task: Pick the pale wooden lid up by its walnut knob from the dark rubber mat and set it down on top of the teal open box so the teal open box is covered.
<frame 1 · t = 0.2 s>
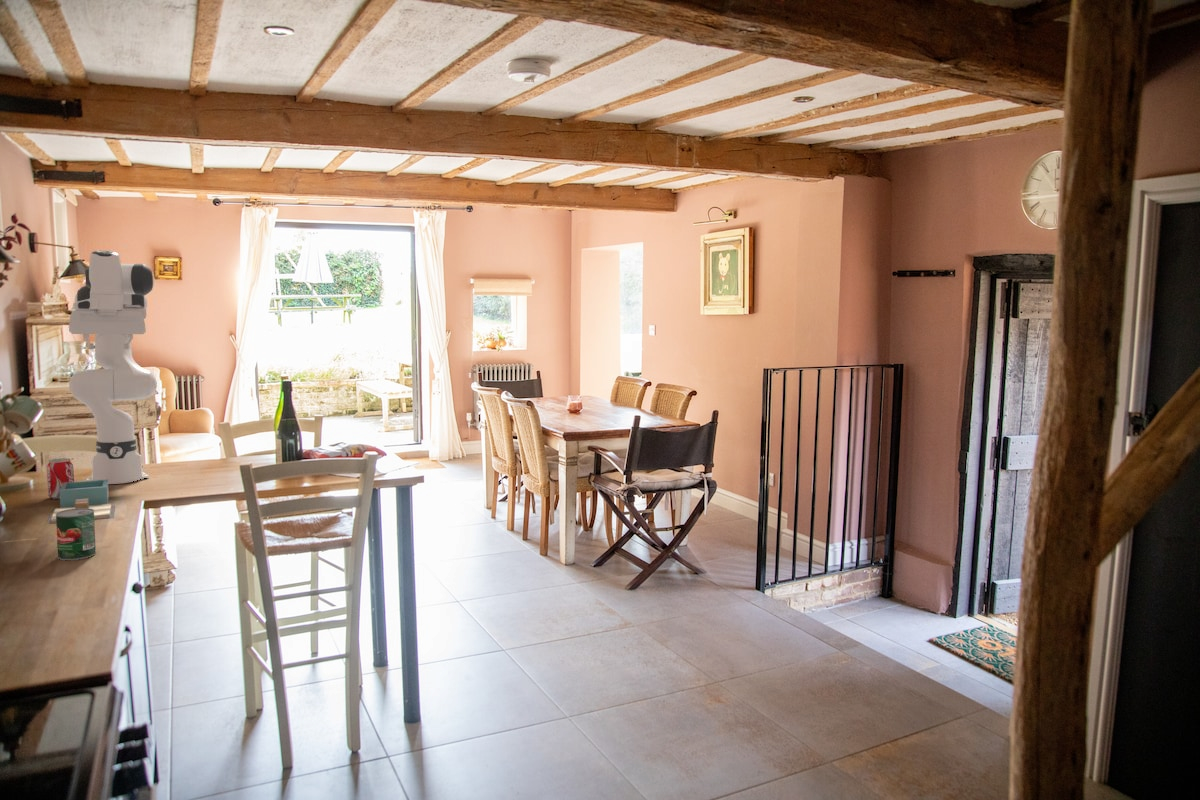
hand: (109, 349, 249), 47 cm above the counter, tool pointing down, fingers open, 8 cm apart
canned tomato: (77, 556, 197), on the counter
soda can: (61, 497, 255), on the counter
mat: (82, 515, 234), on the counter
teal open box: (85, 503, 248), on the counter
lid: (82, 514, 234), resting on mat
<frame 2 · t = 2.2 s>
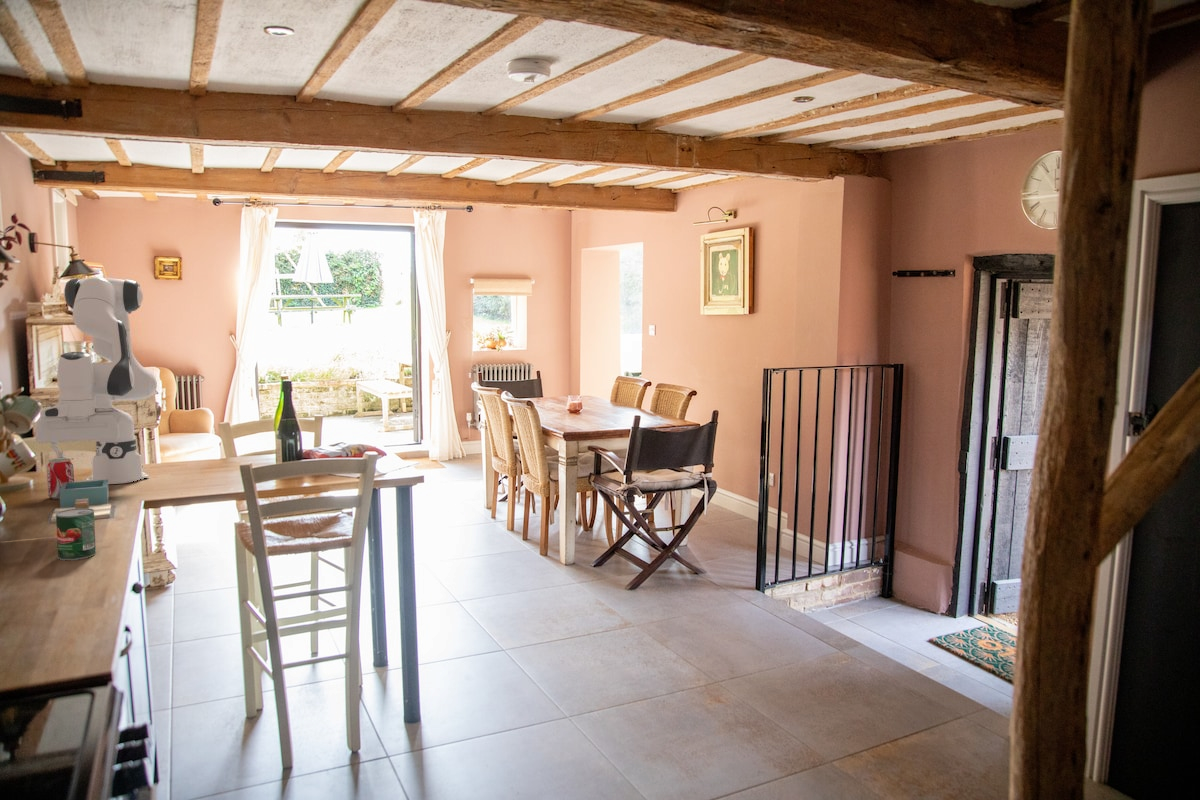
hand: (79, 456, 232), 17 cm above the counter, tool pointing down, fingers open, 8 cm apart
nothing on the counter moved.
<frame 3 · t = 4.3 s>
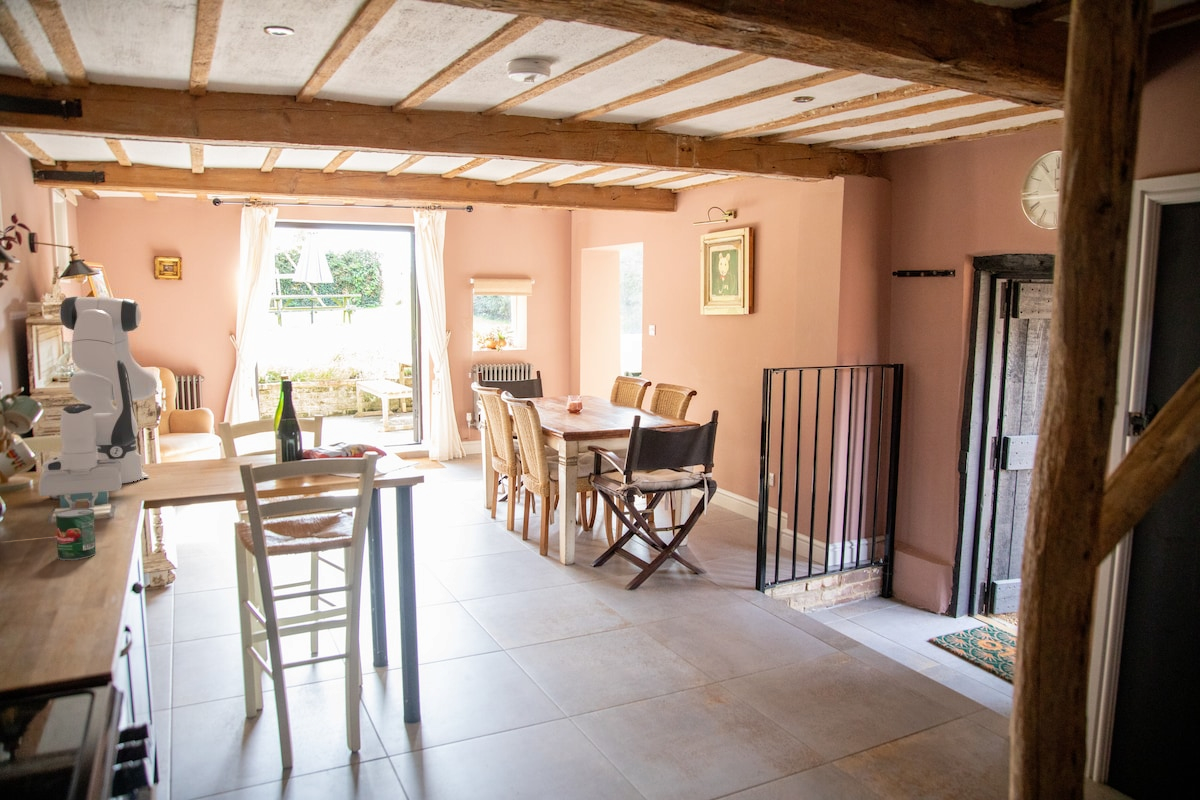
hand: (82, 508, 234), 2 cm above the counter, tool pointing down, fingers closed on lid, 3 cm apart
lid: (82, 514, 234), resting on mat, touching gripper
everything else where it was.
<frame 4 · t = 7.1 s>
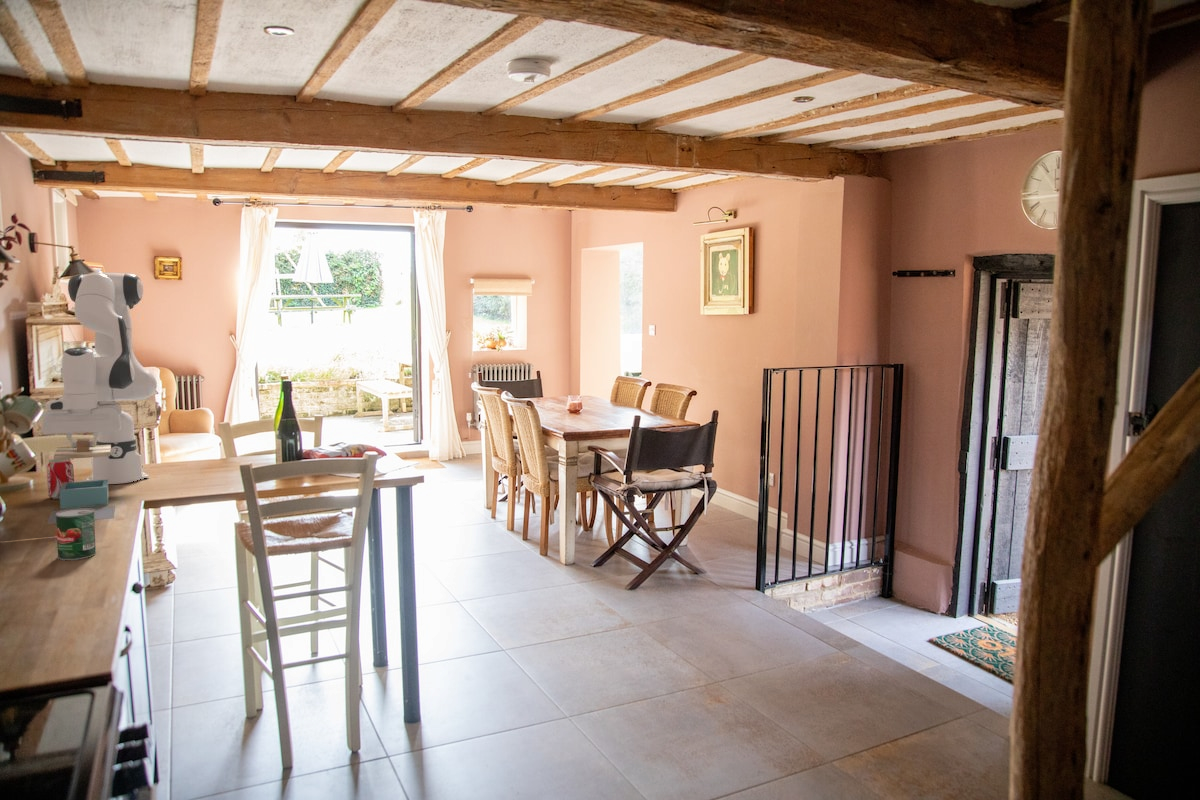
hand: (83, 447, 244), 18 cm above the counter, tool pointing down, fingers closed on lid, 3 cm apart
lid: (83, 453, 244), point 16 cm above the counter, touching gripper
everything else where it was.
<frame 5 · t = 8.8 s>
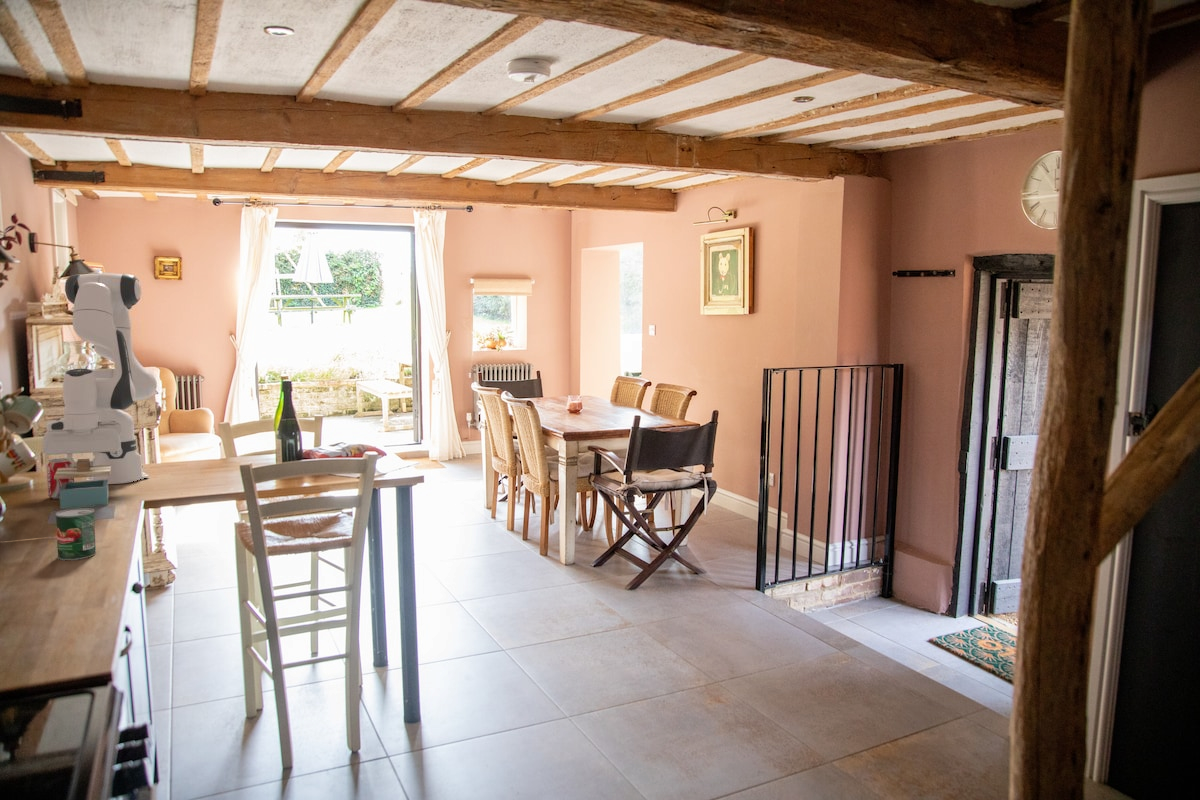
hand: (83, 467, 246), 11 cm above the counter, tool pointing down, fingers closed on lid, 3 cm apart
lid: (83, 473, 246), point 10 cm above the counter, touching gripper
everything else where it was.
when the fingers open (9 cm above the counter, at t = 9.9 s): lid drops 1 cm, resting on teal open box.
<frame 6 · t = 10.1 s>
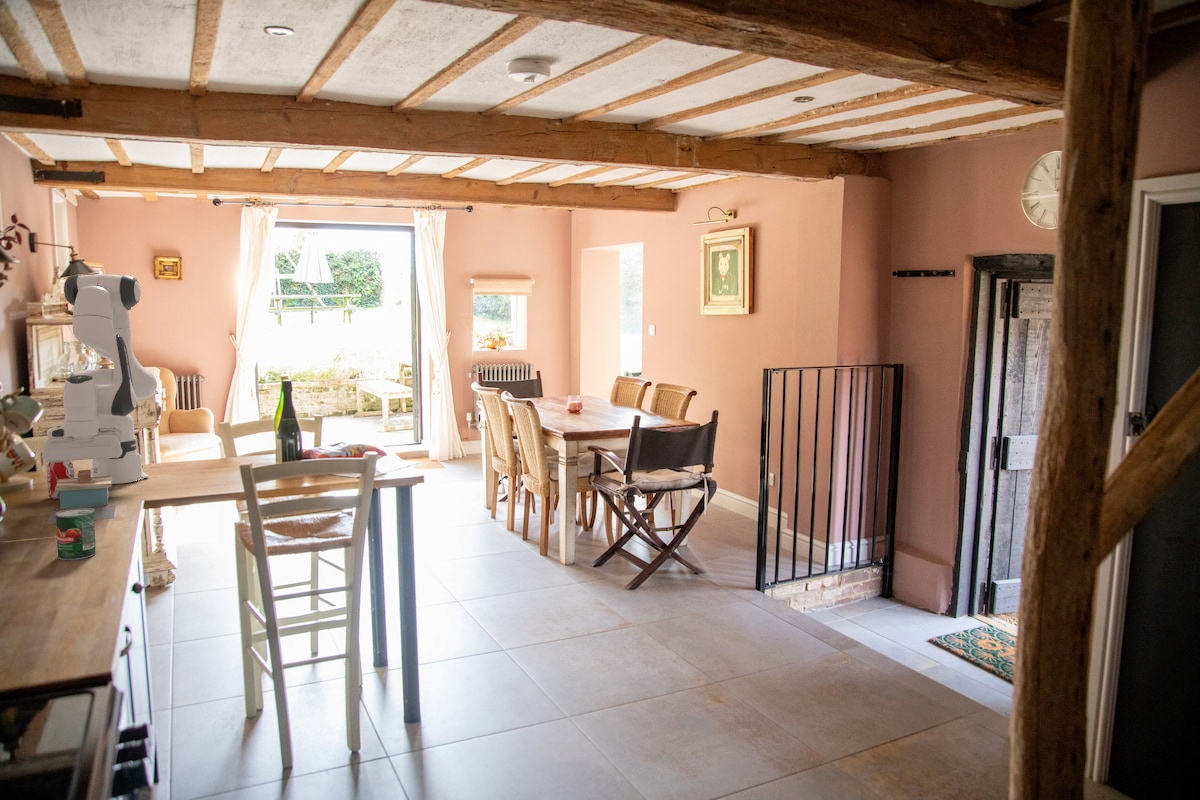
hand: (84, 473, 247), 9 cm above the counter, tool pointing down, fingers open, 5 cm apart
lid: (84, 484, 247), point 6 cm above the counter, touching teal open box
everything else where it was.
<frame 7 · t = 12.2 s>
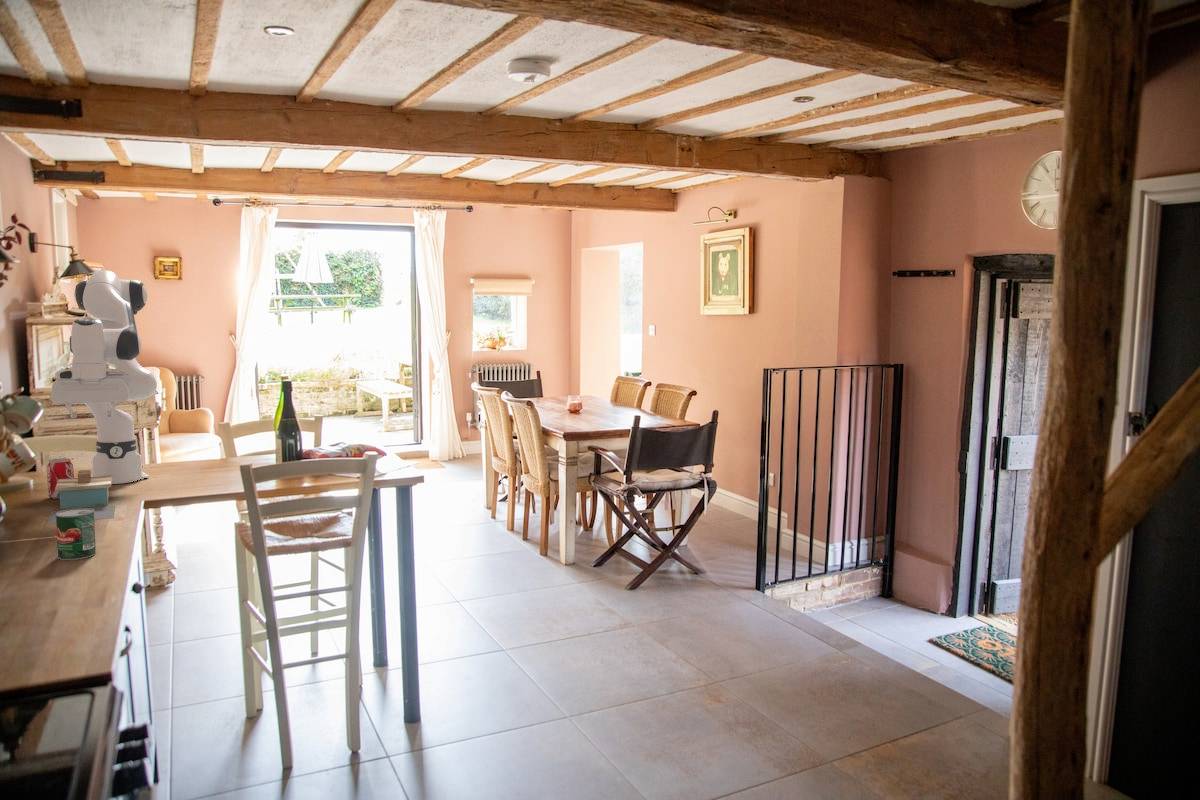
hand: (92, 417, 247), 27 cm above the counter, tool pointing down, fingers open, 8 cm apart
nothing on the counter moved.
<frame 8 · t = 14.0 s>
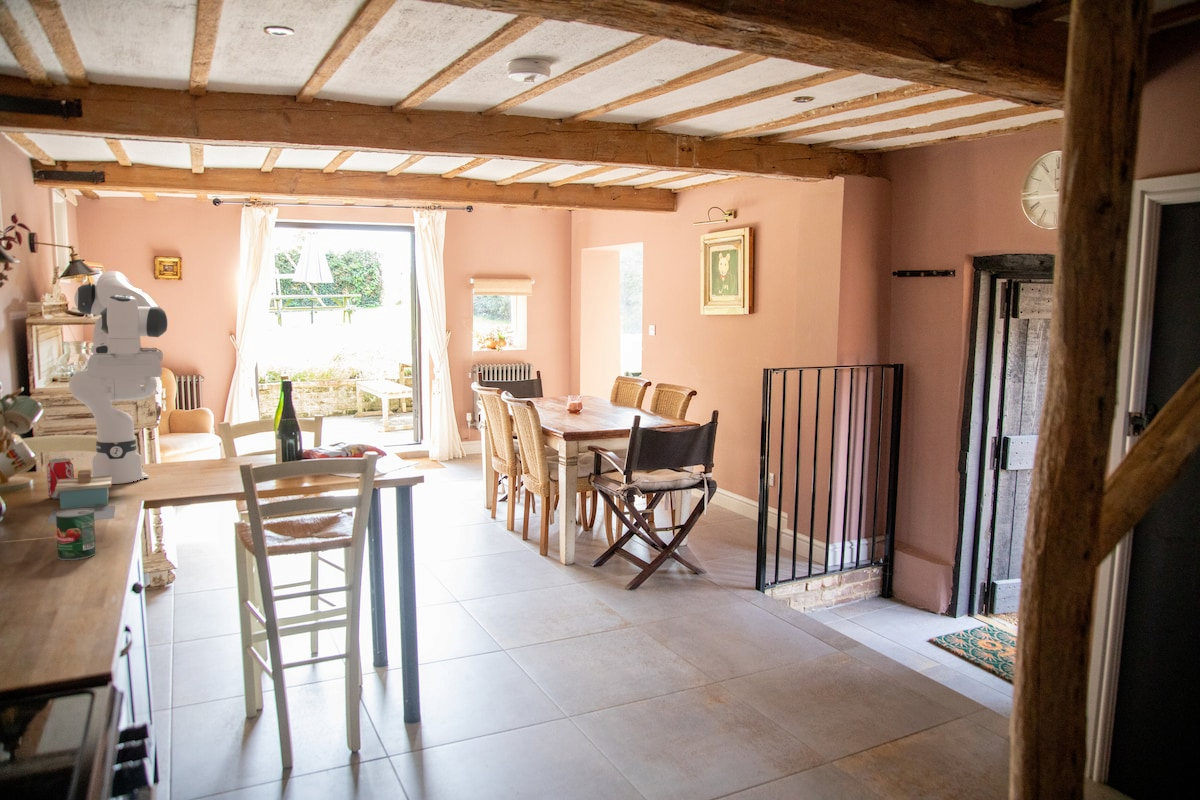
hand: (126, 392, 252), 34 cm above the counter, tool pointing down, fingers open, 8 cm apart
nothing on the counter moved.
at the end: lid 0.1 cm off-centre on the teal open box, point 6.0 cm above the teal open box's base; lid touching teal open box; the gripper is holding nothing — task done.
